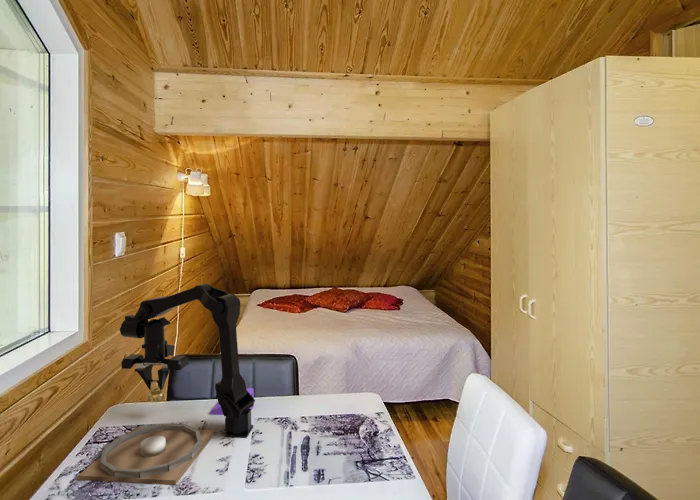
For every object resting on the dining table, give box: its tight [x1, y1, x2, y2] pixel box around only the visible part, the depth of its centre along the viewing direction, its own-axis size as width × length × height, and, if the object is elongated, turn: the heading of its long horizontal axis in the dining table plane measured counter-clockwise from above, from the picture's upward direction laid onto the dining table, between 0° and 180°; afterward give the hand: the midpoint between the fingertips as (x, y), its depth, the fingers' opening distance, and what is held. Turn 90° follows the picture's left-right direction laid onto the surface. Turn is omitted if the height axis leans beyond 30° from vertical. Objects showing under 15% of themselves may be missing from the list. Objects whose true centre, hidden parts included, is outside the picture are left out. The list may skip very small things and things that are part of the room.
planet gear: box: [145, 377, 168, 403], centre depth 133 cm, size 6×6×6 cm
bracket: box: [210, 387, 255, 416], centre depth 140 cm, size 12×7×7 cm, turn 88°
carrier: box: [77, 423, 217, 485], centre depth 114 cm, size 24×24×4 cm
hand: (156, 389), depth 133 cm, fingers closed on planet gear, 3 cm apart
